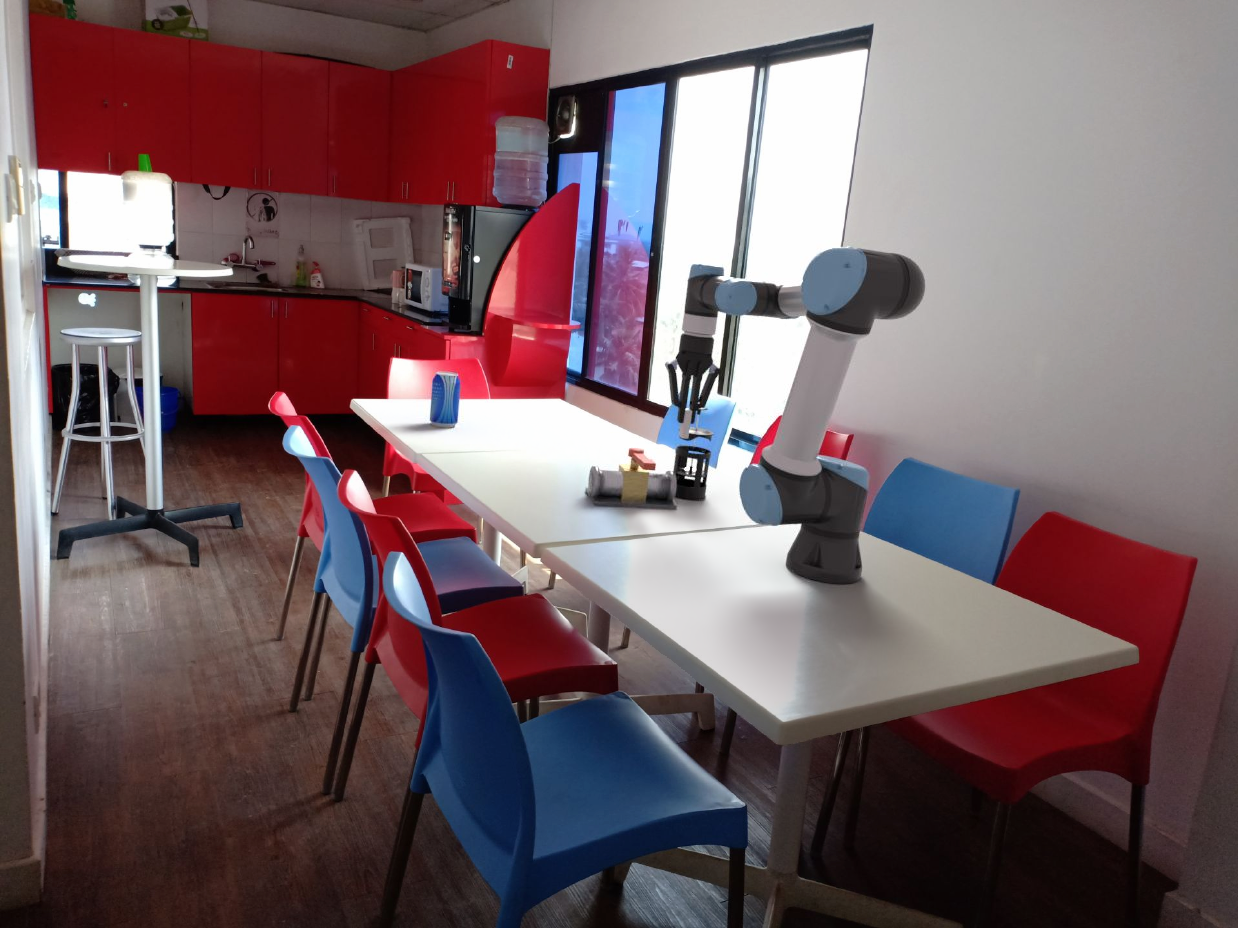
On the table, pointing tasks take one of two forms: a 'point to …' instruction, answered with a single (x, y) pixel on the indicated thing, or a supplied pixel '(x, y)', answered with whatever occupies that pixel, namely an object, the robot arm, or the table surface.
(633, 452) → the lever
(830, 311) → the robot arm
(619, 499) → the valve body
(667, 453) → the table surface
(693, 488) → the french press
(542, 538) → the table surface
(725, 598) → the table surface
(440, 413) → the beer can
